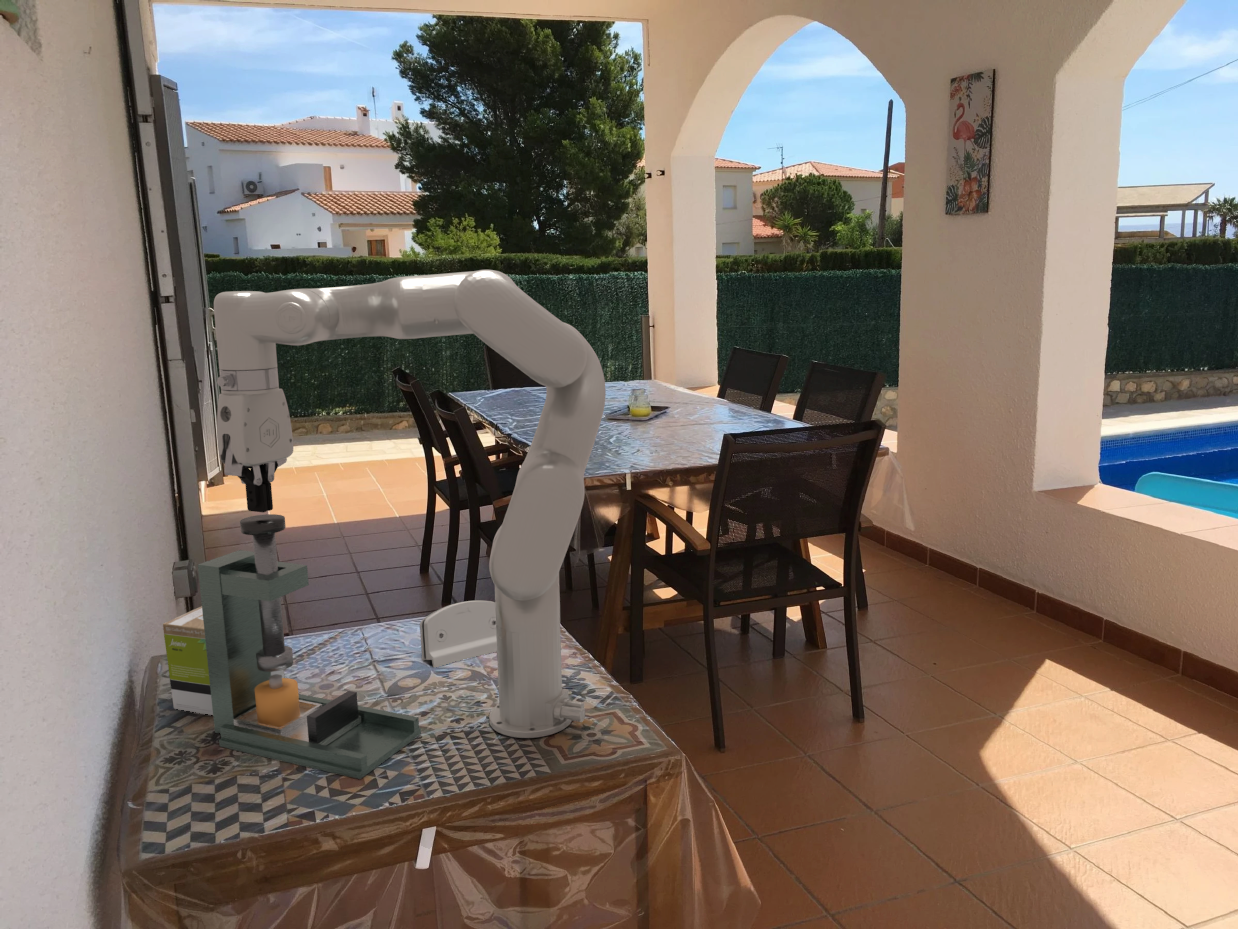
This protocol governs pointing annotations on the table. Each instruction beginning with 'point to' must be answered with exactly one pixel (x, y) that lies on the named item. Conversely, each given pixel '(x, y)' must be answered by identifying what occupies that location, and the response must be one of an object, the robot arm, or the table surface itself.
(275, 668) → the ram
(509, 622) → the robot arm
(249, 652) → the press
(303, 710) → the sliding bed
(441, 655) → the hinge
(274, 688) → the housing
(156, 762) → the table surface
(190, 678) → the tea box
